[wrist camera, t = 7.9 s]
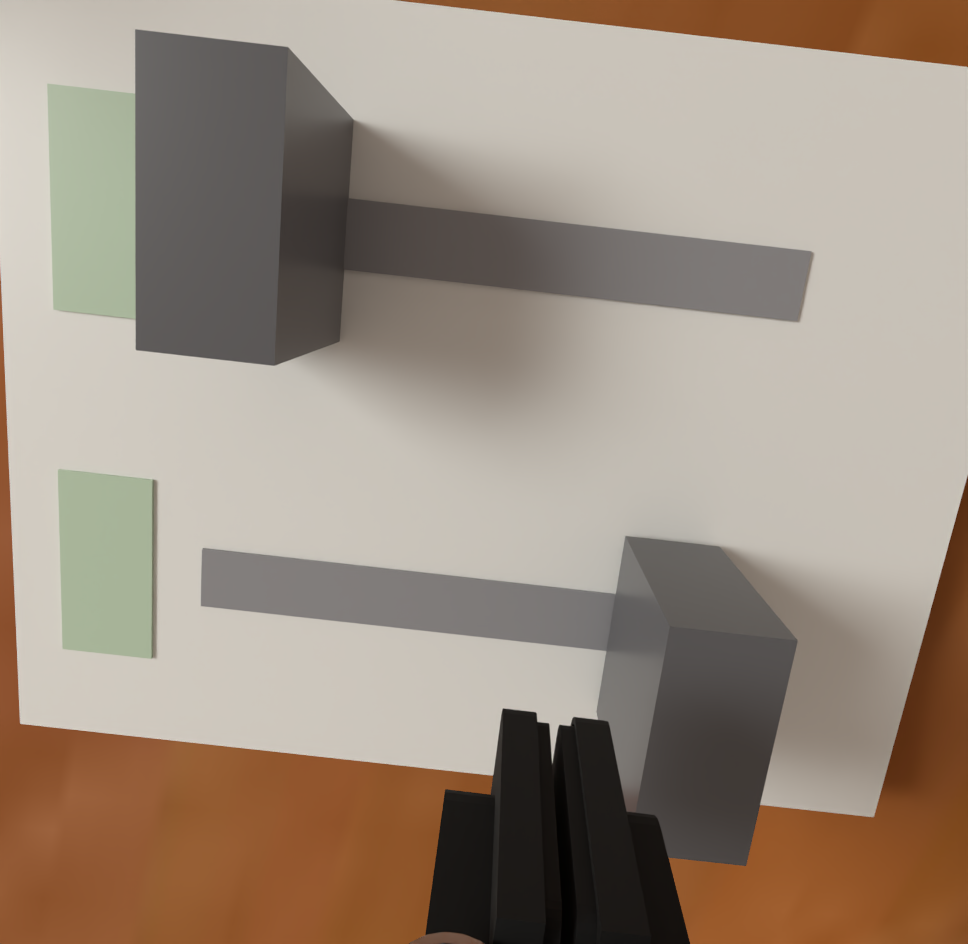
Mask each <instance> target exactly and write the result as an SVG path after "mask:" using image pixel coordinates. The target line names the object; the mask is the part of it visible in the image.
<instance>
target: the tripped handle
mask: <svg viewBox="0 0 968 944" xmlns="http://www.w3.org/2000/svg"><path fill="white" fill-rule="evenodd" d="M797 642H798V640H797V639H796V638H795V636H794V635H793V634H792V633H791V632H790V630H789V629H788V628H787V627H786V626H785V624H784V623H783V622H782V621H781V620H780V618H779V617H778V616H777V615H776V614H775V612H774V611H773V610H772V609H771V608H770V606H769V605H768V604H767V603H766V602H765V600H764V599H763V598H762V597H761V596H760V594H759V593H758V592H757V591H756V590H755V588H754V587H753V586H752V585H751V584H750V582H749V581H748V580H747V579H746V577H745V576H744V575H743V574H742V573H741V571H740V570H739V569H738V568H737V567H736V565H735V564H734V563H733V562H732V561H731V559H730V558H729V557H728V556H727V555H726V553H725V552H724V551H723V550H722V549H721V547H720V546H711V545H703V544H694V543H685V542H676V541H667V540H658V539H649V538H640V537H631V536H625V541H624V547H623V553H622V559H621V565H620V571H619V577H618V583H617V589H616V595H615V602H614V608H613V614H612V620H611V626H610V632H609V638H608V644H607V650H606V656H605V662H604V669H603V675H602V681H601V687H600V693H599V699H598V705H597V711H596V712H597V717H598V720H604V721H608V722H609V725H610V730H611V735H612V740H613V745H614V751H615V756H616V761H617V766H618V771H619V776H620V781H621V786H622V791H623V796H624V801H625V806H626V811H627V812H635V813H643V814H651V815H655V816H656V817H657V818H658V821H659V824H660V827H661V831H662V835H663V839H664V843H665V847H666V851H667V855H668V857H669V858H678V859H688V860H697V861H706V862H715V863H724V864H733V865H743V866H746V863H747V859H748V855H749V850H750V846H751V842H752V837H753V833H754V829H755V824H756V820H757V816H758V811H759V807H760V803H761V798H762V794H763V790H764V785H765V781H766V777H767V772H768V768H769V764H770V759H771V755H772V751H773V746H774V742H775V738H776V733H777V729H778V725H779V720H780V716H781V712H782V707H783V703H784V699H785V694H786V690H787V686H788V681H789V677H790V673H791V668H792V664H793V660H794V655H795V651H796V647H797Z"/></svg>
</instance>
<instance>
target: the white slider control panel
mask: <svg viewBox="0 0 968 944" xmlns="http://www.w3.org/2000/svg"><path fill="white" fill-rule="evenodd" d="M0 267H1V290H2V314H3V337H4V360H5V383H6V406H7V430H8V453H9V476H10V499H11V522H12V546H13V569H14V592H15V615H16V638H17V662H18V685H19V708H20V724H27V725H36V726H46V727H55V728H64V729H73V730H82V731H91V732H100V733H109V734H119V735H128V736H137V737H146V738H155V739H164V740H173V741H183V742H192V743H201V744H210V745H219V746H228V747H237V748H246V749H256V750H265V751H274V752H283V753H292V754H301V755H310V756H319V757H329V758H338V759H347V760H356V761H365V762H374V763H383V764H393V765H402V766H411V767H420V768H429V769H438V770H447V771H456V772H466V773H475V774H484V775H493V774H494V766H495V759H496V751H497V744H498V736H499V729H500V721H501V714H502V709H503V708H505V709H513V710H522V711H530V712H536V713H537V722H542V723H549V726H550V739H551V754H552V763H553V756H554V750H555V743H556V737H557V731H558V727H559V725H567V726H571V721H572V718H573V717H580V718H588V719H596V720H598V717H597V712H596V711H597V705H598V699H599V693H600V687H601V681H602V675H603V669H604V662H605V656H606V650H607V644H608V638H609V632H610V626H611V620H612V614H613V608H614V602H615V595H616V589H617V583H618V577H619V571H620V565H621V559H622V553H623V547H624V541H625V536H631V537H640V538H649V539H658V540H667V541H676V542H685V543H694V544H703V545H711V546H720V547H721V549H722V550H723V551H724V552H725V553H726V555H727V556H728V557H729V558H730V559H731V561H732V562H733V563H734V564H735V565H736V567H737V568H738V569H739V570H740V571H741V573H742V574H743V575H744V576H745V577H746V579H747V580H748V581H749V582H750V584H751V585H752V586H753V587H754V588H755V590H756V591H757V592H758V593H759V594H760V596H761V597H762V598H763V599H764V600H765V602H766V603H767V604H768V605H769V606H770V608H771V609H772V610H773V611H774V612H775V614H776V615H777V616H778V617H779V618H780V620H781V621H782V622H783V623H784V624H785V626H786V627H787V628H788V629H789V630H790V632H791V633H792V634H793V635H794V636H795V638H796V639H797V640H798V642H797V647H796V651H795V655H794V660H793V664H792V668H791V673H790V677H789V681H788V686H787V690H786V694H785V699H784V703H783V707H782V712H781V716H780V720H779V725H778V729H777V733H776V738H775V742H774V746H773V751H772V755H771V759H770V764H769V768H768V772H767V777H766V781H765V785H764V790H763V794H762V798H761V803H760V805H767V806H776V807H785V808H794V809H803V810H813V811H822V812H831V813H840V814H849V815H858V816H867V817H874V815H875V811H876V807H877V804H878V800H879V796H880V793H881V789H882V785H883V782H884V778H885V775H886V771H887V767H888V764H889V760H890V756H891V753H892V749H893V745H894V742H895V738H896V734H897V731H898V727H899V724H900V720H901V716H902V713H903V709H904V705H905V702H906V698H907V694H908V691H909V687H910V683H911V680H912V676H913V673H914V669H915V665H916V662H917V658H918V654H919V651H920V647H921V643H922V640H923V636H924V632H925V629H926V625H927V622H928V618H929V614H930V611H931V607H932V603H933V600H934V596H935V592H936V589H937V585H938V581H939V578H940V574H941V570H942V567H943V563H944V560H945V556H946V552H947V549H948V545H949V541H950V538H951V534H952V530H953V527H954V523H955V519H956V516H957V512H958V509H959V505H960V501H961V498H962V494H963V490H964V487H965V483H966V479H967V476H968V67H962V66H953V65H945V64H936V63H928V62H919V61H910V60H902V59H893V58H885V57H876V56H868V55H859V54H850V53H842V52H833V51H825V50H816V49H807V48H799V47H790V46H782V45H773V44H765V43H756V42H747V41H739V40H730V39H722V38H713V37H704V36H696V35H687V34H679V33H670V32H661V31H653V30H644V29H636V28H627V27H619V26H610V25H601V24H593V23H584V22H576V21H567V20H558V19H550V18H541V17H533V16H524V15H515V14H507V13H498V12H490V11H481V10H473V9H464V8H455V7H447V6H438V5H430V4H421V3H412V2H404V1H395V0H0Z"/></svg>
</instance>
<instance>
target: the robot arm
mask: <svg viewBox="0 0 968 944" xmlns="http://www.w3.org/2000/svg"><path fill="white" fill-rule="evenodd" d="M409 944H690V942H689V938H688V934H687V930H686V926H685V922H684V918H683V914H682V910H681V906H680V902H679V898H678V894H677V890H676V886H675V882H674V878H673V874H672V871H671V867H670V863H669V859H668V855H667V851H666V847H665V843H664V839H663V835H662V831H661V827H660V824H659V821H658V818H657V817H656V816H655V815H651V814H643V813H635V812H627V811H626V806H625V801H624V796H623V791H622V786H621V781H620V776H619V771H618V766H617V761H616V756H615V751H614V745H613V740H612V735H611V730H610V725H609V722H608V721H604V720H596V719H588V718H580V717H573V718H572V721H571V726H567V725H559V727H558V731H557V737H556V743H555V750H554V756H553V763H552V754H551V739H550V726H549V723H542V722H537V713H536V712H530V711H522V710H513V709H505V708H503V709H502V714H501V721H500V729H499V736H498V744H497V751H496V759H495V766H494V774H493V781H492V789H491V795H487V794H479V793H471V792H463V791H455V790H445V796H444V803H443V811H442V818H441V825H440V833H439V840H438V847H437V854H436V862H435V869H434V876H433V884H432V891H431V898H430V906H429V913H428V920H427V928H426V935H425V936H423V937H421V938H418V939H416V940H414V941H412V942H410V943H409Z"/></svg>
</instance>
